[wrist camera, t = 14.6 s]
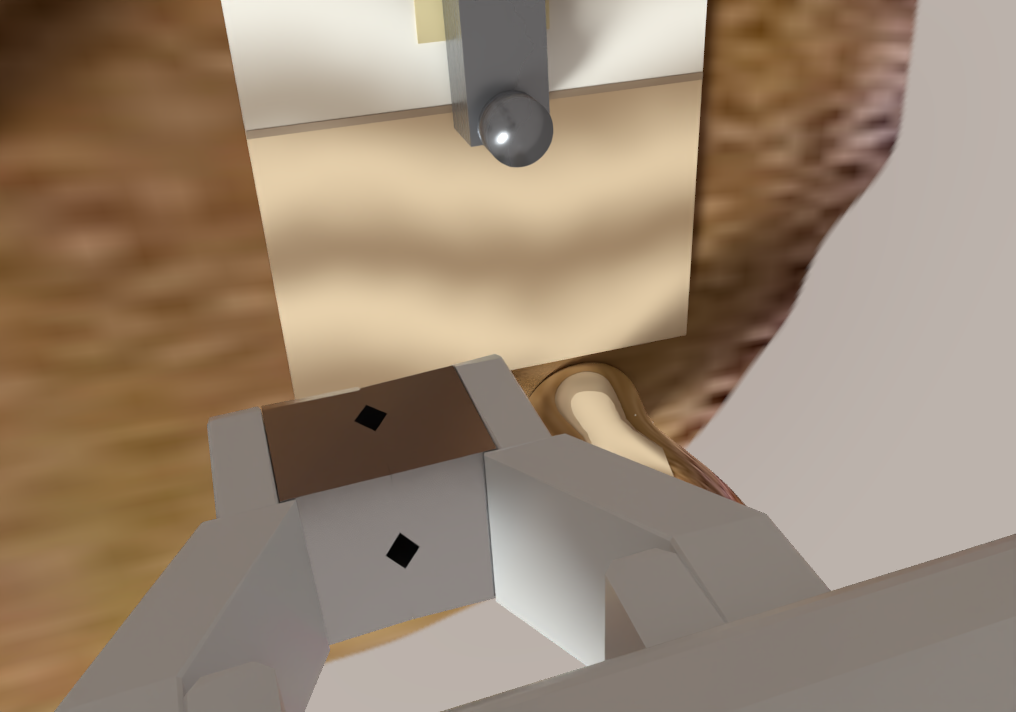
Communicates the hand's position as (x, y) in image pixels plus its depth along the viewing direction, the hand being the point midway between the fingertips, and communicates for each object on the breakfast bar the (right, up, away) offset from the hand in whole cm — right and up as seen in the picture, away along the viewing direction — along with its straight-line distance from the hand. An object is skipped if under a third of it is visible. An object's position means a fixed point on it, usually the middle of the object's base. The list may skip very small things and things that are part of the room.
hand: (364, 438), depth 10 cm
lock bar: (+1, +15, +23) cm, 28 cm away
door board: (0, +11, +27) cm, 29 cm away
